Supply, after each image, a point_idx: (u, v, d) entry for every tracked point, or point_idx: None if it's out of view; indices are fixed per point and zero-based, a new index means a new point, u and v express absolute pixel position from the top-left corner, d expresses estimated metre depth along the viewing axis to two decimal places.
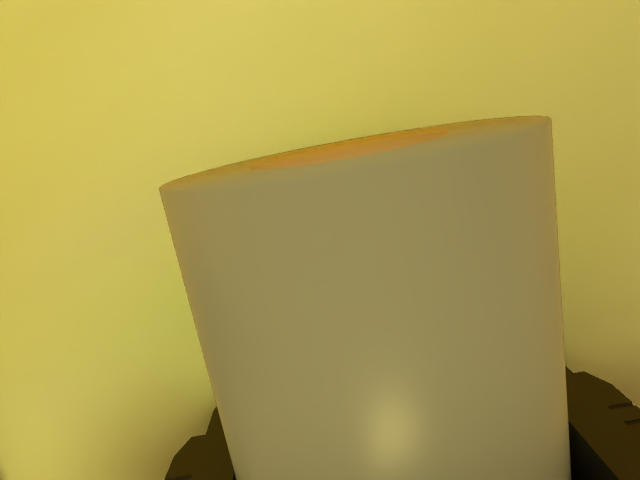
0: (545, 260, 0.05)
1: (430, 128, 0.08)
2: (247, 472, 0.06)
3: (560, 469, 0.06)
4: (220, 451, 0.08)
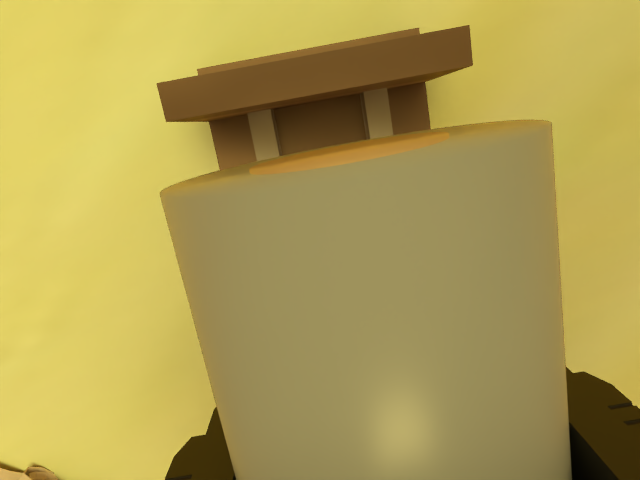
0: (545, 265, 0.05)
1: (430, 131, 0.08)
2: (248, 476, 0.06)
3: (561, 473, 0.06)
4: (220, 451, 0.08)
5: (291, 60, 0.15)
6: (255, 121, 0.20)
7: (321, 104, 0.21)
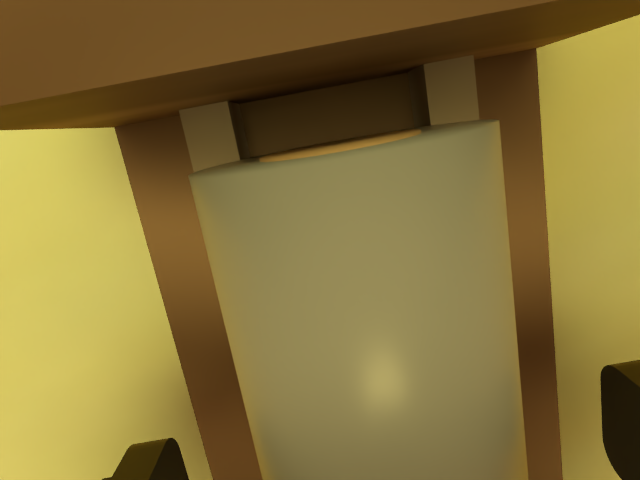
0: (488, 233, 0.07)
1: (414, 129, 0.09)
2: (254, 402, 0.08)
3: (505, 405, 0.07)
4: None
5: None
6: (196, 127, 0.10)
7: (332, 93, 0.11)
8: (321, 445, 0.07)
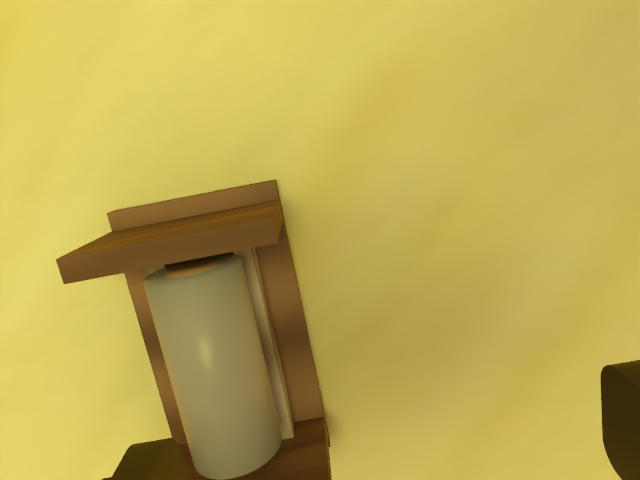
0: (226, 299, 0.23)
1: (226, 257, 0.26)
2: (163, 351, 0.24)
3: (239, 350, 0.24)
4: None
5: (150, 242, 0.21)
6: None
7: None
8: (180, 361, 0.24)
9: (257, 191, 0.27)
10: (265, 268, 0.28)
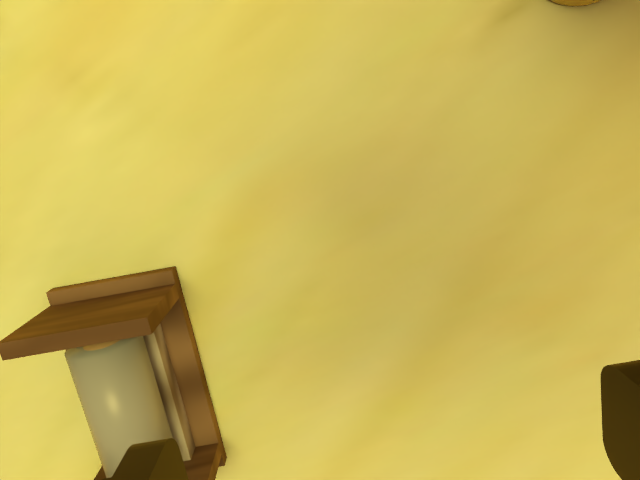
0: (123, 367, 0.32)
1: None
2: None
3: (134, 402, 0.33)
4: None
5: (62, 333, 0.30)
6: None
7: None
8: (91, 411, 0.33)
9: (158, 277, 0.36)
10: (167, 333, 0.37)
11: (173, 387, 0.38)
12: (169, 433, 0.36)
